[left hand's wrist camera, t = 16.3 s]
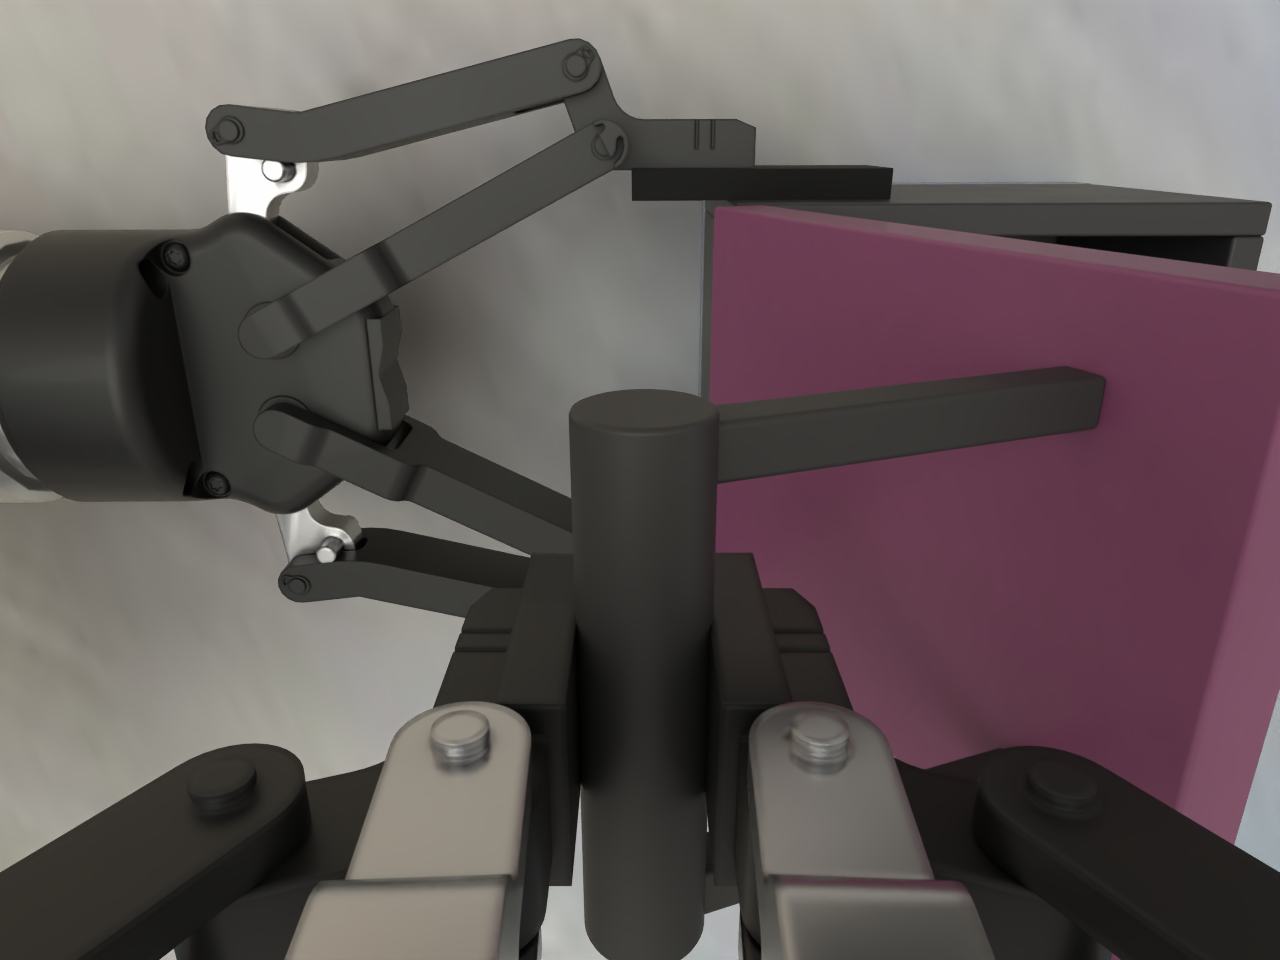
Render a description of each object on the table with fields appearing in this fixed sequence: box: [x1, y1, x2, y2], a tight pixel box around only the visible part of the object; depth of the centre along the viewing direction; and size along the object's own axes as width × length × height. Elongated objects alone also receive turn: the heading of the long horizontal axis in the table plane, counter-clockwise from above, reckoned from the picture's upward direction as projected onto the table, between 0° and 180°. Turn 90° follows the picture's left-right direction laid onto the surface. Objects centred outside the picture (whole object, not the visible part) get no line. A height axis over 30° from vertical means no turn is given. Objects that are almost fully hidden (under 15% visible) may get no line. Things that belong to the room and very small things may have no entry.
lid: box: [569, 205, 1280, 960], centre depth 15 cm, size 13×9×8 cm
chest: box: [699, 182, 1272, 401], centre depth 28 cm, size 13×9×10 cm
